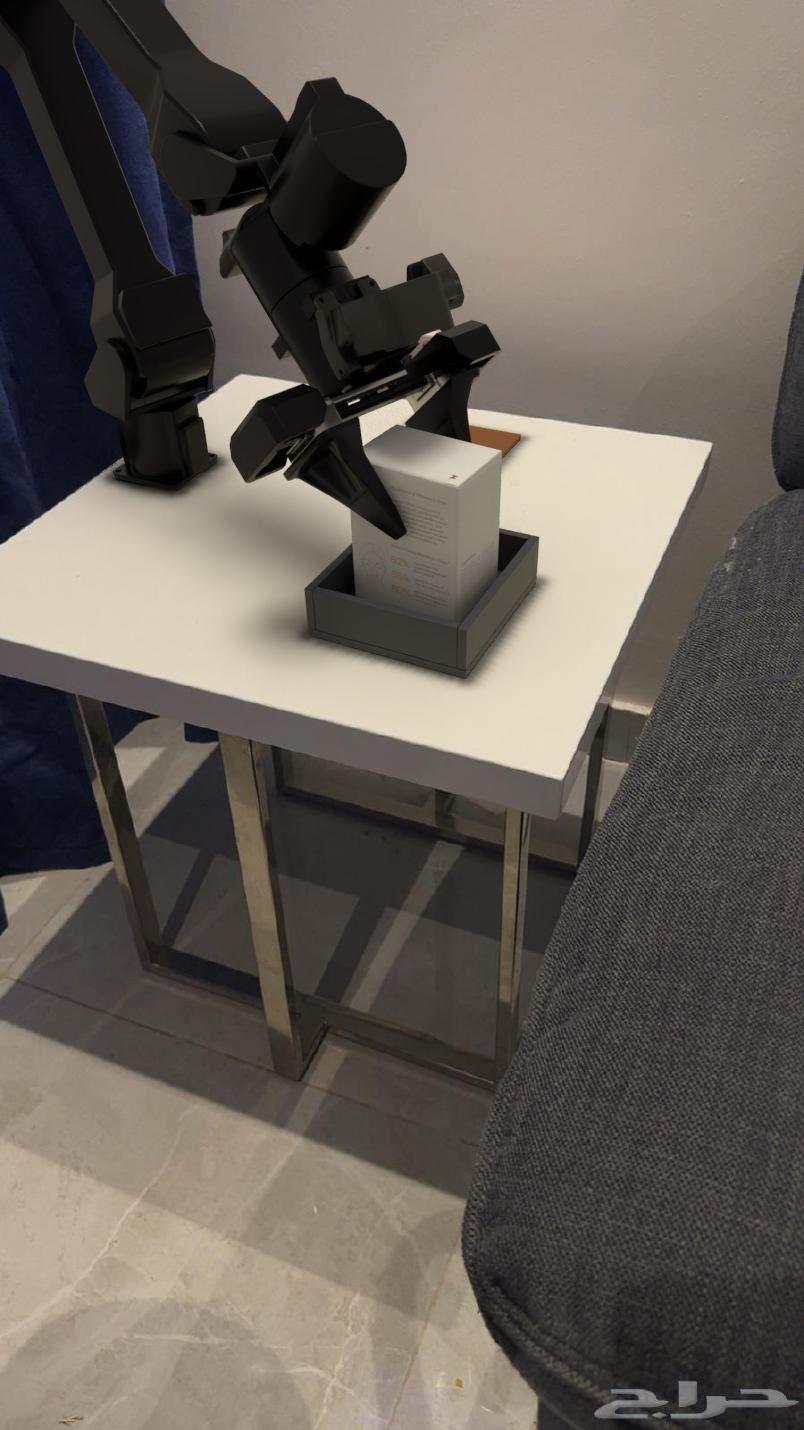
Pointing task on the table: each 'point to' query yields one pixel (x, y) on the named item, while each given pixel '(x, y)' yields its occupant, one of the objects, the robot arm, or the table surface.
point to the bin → (417, 633)
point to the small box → (431, 524)
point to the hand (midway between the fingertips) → (439, 517)
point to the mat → (493, 438)
